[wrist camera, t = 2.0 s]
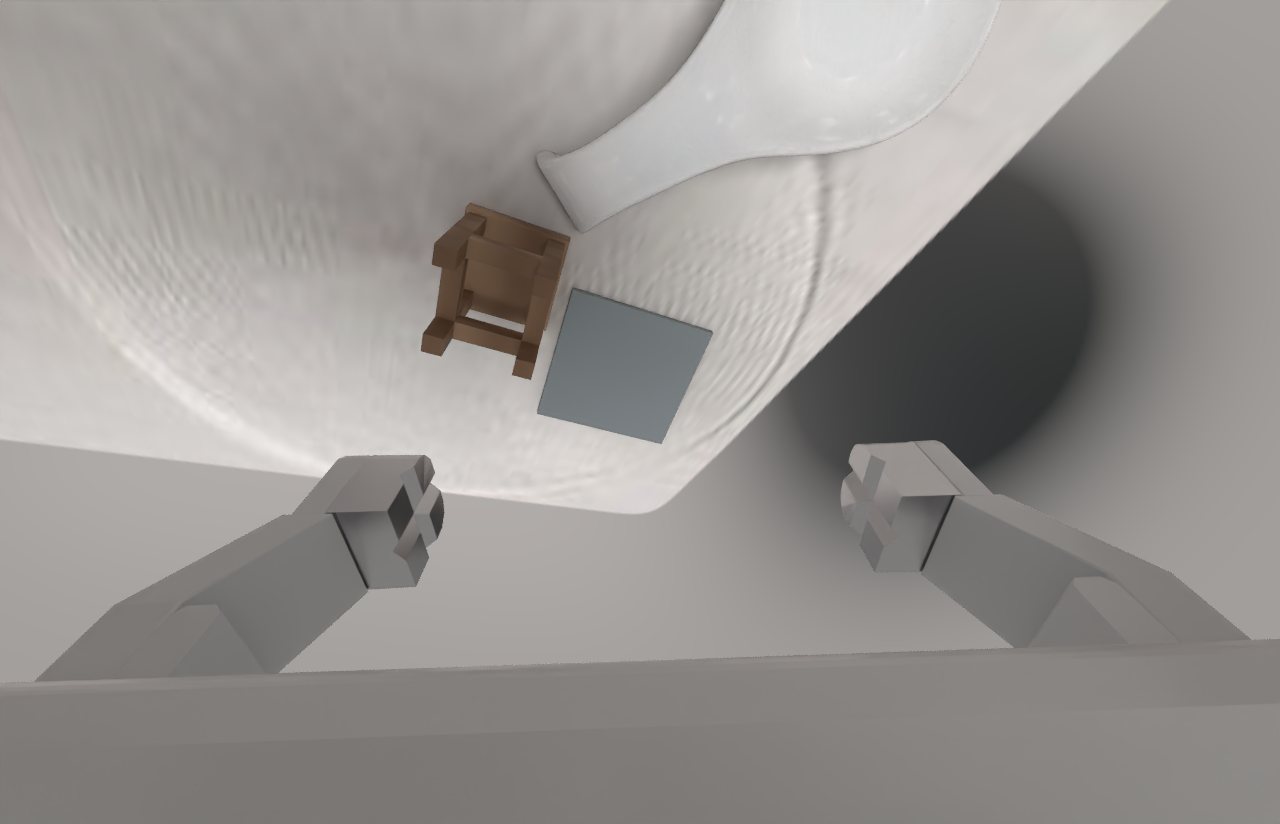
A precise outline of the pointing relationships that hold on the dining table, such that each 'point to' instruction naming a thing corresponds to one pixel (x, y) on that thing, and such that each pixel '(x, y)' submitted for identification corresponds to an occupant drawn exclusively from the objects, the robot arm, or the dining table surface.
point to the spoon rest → (778, 93)
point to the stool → (496, 284)
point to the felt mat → (621, 367)
